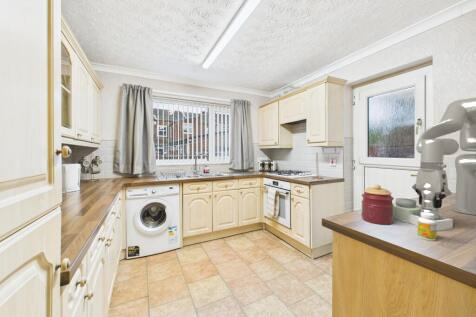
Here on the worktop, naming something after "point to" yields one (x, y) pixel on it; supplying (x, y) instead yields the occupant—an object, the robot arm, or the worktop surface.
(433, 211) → the silver bottle
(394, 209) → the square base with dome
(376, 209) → the canister
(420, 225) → the supplement bottle
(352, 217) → the worktop surface
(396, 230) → the worktop surface
